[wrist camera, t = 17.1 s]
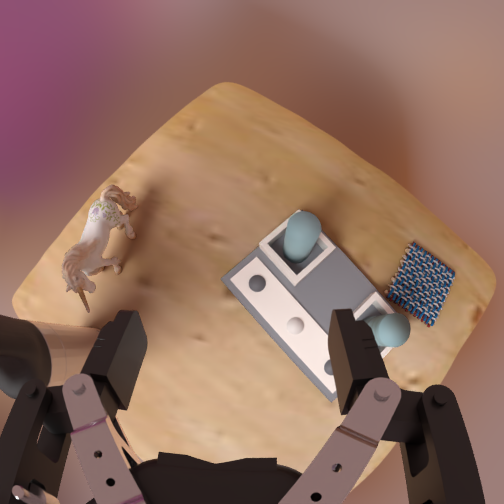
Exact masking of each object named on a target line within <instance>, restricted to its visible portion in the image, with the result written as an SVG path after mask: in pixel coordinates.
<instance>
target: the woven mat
mask: <svg viewBox="0 0 504 504" xmlns="http://www.w3.org/2000/svg"><path fill="white" fill-rule="evenodd" d="M415 245H416V243H415V242H413V243H412V245H411V244H409V243H408V246H409V247H410V249H409V248H406V249H405V252H407V256H406V255H404V254H403V255H402V257H403V258H404V259H405V260H403V259H402V260H400V263H401V264H402V266H401V267H398V270H399V272H398V273H396V274H395V276H396V277H395V278H394V277H392V278H391V281H392V282H393V284H392V285H390V284H389V283H388V286H389V287H390V290H389V291H388V290H384V293H385V295H387V296H386V298H389V297H390V300H389V301H392V300H394V303H395V304H396V303H399V304H398V306H403V307H402V308H403V309H405V308H406V310H405V311H406V312H408V310H409V311H410V314H414V315H413V316H414V317H415V316H418V317H417V319H421V322H423V321H425V323H424V324H428V325H427V327H430V325H431V326H433V325H434V321H435V322H436V321H437V320H436V318H439V317H437V316H438V315H439V313H440V309H441V310H442V309H443V308H441V307H442V305H443V306H444V304H443V302H446V301H444V300H445V296H446V297H447V294H449V293H448V290H449V291H450V289H449V287H450V285H451V286H453V285H452V282H454V281H453V279H455V278H454V277H455V272H454V271H452V270H451V269H450V268H449V269H448V267H447V266H446V265H445V264H444V263H442V264H441V262H440V260H438V259H437V258H435V259H434V256H433V255H431V254H430V253H429V252H428V254H427V251H424V249H423V248H422V247H420V246H418V245H416V247H415ZM419 247H420V249H419ZM413 250H414V252H413ZM417 253H418V254H417ZM410 256H411V258H410ZM430 256H431V257H430ZM424 258H425V259H424ZM428 261H429V262H428ZM437 261H438V262H437ZM408 262H409V263H408ZM418 262H419V263H418ZM411 265H412V266H411ZM421 265H422V266H421ZM425 266H426V269H425ZM415 267H416V269H415ZM419 269H420V271H419ZM402 272H403V274H402ZM432 273H433V274H432ZM412 274H413V275H412ZM416 275H417V278H416ZM406 276H407V278H406ZM449 276H450V277H449ZM410 279H411V280H410ZM399 280H400V281H399ZM443 280H444V281H443ZM424 281H425V282H424ZM402 283H404V284H402ZM437 283H438V284H437ZM446 283H447V284H446ZM406 285H407V287H406ZM395 286H397V287H395ZM431 286H432V287H431ZM400 288H401V290H400ZM410 289H411V290H410ZM414 290H415V292H414ZM438 291H439V292H438ZM393 292H394V293H393ZM428 292H429V293H428ZM392 293H393V295H392ZM408 294H409V295H408ZM396 295H397V297H396ZM422 296H423V297H422ZM411 297H412V298H411ZM400 298H401V300H400ZM425 299H426V300H425ZM404 300H406V301H405V303H404ZM429 301H430V302H429ZM412 305H413V307H412ZM436 306H437V308H436ZM416 308H417V309H416ZM419 312H420V313H419ZM427 315H428V316H427Z"/></svg>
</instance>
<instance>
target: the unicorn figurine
mask: <svg viewBox="0 0 504 504" xmlns="http://www.w3.org/2000/svg"><path fill="white" fill-rule="evenodd" d="M129 195H130V192H123V191H122V190H121V189H120V188H119V187H118V186H115V185H109V186H108V187H106V188H105V189H104V190H103V191H102V192H101V197H100V199H97V200H96V201H95V202H94V203H93V204H92V206H91V207H90V210H89V213H88V220H87V223H86V226H85V228H84V231H83V234H82V237H81V239H80V241H79V242H78V244H75V245H74V246H73V247H72V248H71V249H70V250H69V251H68V252H66V253H65V258H64V260H63V264H62V274H63V276H62V277H63V279H65V281H66V283H67V284H68V285H67V290H66V292H68V291H69V290H71V289H72V290H73V291H74V292H75V293H79V296H80V297H81V299H82V301H83V303H84V305H85V307H86V310H87V311H88V313H89V312H90V309H89V306H88V303H87V300H86V297H85V295H84V292H83V290H85V291H89V293H93V292H94V291H95V289H96V285H95V283H94V282H92V281H90V280H89V279H88V278H87V276H92V275H96V274H98V273H99V272H101V271H102V270H103V269H104V267H103V266H109V265H113V266H114V270H115V273H116V274H119V273H120V272H121V267H120V266H119V265H118V264H119V263H120V262H121V260H119V259H118V258H117V257H113V258H112V259H103V258H102V254H103V252H104V250H105V248H106V246H107V244H108V240H109V235H110V230H111V229H112V228H114V227H116V226H117V229H118V230H120V229H122V228H123V226H125V232H126V235H127V237H129V238H130V239H135V238H136V234H135V232H133V227H132V226H130V225H129V215H128V214H126V215H123V213H122V212H121V211H119V209H118V206H117V205H116V203H118V204H119V205H121V206H122V208H123V209H124V210H126V209H128V210H129V211H132V210H133V209H136V208H137V207H138V205H135V202H136V197H135V196H132V197H130V196H129ZM109 197H110V198H111V199H112V200H111V199H110V198H109ZM115 202H116V203H115ZM80 270H81V271H80ZM82 271H83V272H84V273H85V274H86V275H87V276H86V275H85V274H84V273H83V272H82Z"/></svg>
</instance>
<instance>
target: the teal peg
mask: <svg viewBox="0 0 504 504" xmlns="http://www.w3.org/2000/svg"><path fill="white" fill-rule="evenodd" d="M362 320H364V321H365V322H366V323H367V324H368V325H369V326H370V327H371V328H372V331H373V334H374V336H375V340H376V342H377V345H378V346H385V347H399V346H401V345H403V344H404V343H405V342H406V341H407V339H408V338H409V335H410V323H409V321H408V319H407V318H406V317H405V316H404V315H403V314H400V313H391V314H385V315H380V316H374V317H368V318H364V319H362Z"/></svg>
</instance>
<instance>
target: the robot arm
mask: <svg viewBox="0 0 504 504" xmlns="http://www.w3.org/2000/svg"><path fill="white" fill-rule="evenodd" d="M146 350H147V337H146V334H145V331H144V328H143V325H142V322H141V319H140V316H139V313H138V312H137V311H129V310H120V311H119V312H118V314H117V316H116V318H115V320H114V322H111V321H109V322H108V323H107V324H106V325H105V326H104V327H103V328H102V329H101V330H99V329H96V328H89V327H80V326H70V325H61V324H52V323H44V322H35V321H28V320H21V319H15V318H11V317H6V316H3V315H0V389H1V390H2V391H3V392H4V393H5V394H6V395H8V396H9V397H11V398H14V399H16V400H15V402H14V405H13V407H12V409H11V412H10V414H9V416H8V419H7V422H6V424H5V426H4V429H3V431H2V434H1V437H0V504H60V503H59V501H58V500H57V496H58V491H59V486H60V483H61V478H62V474H63V470H64V466H65V462H66V459H67V455H68V451H69V448H70V444H71V441H72V442H73V445H74V448H75V451H76V454H77V457H78V459H79V462H80V465H81V467H82V470H83V472H84V475H85V477H86V480H87V482H88V485H89V487H90V489H91V491H92V494H93V496H94V498H93V499H92V500H91V501H89V502H87V503H86V504H342V503H343V502H344V500H345V498H346V497H347V496H348V494H349V493H350V491H351V490H352V488H353V487H354V485H355V483H356V482H357V480H358V479H359V477H360V476H361V474H362V472H363V471H364V469H365V467H366V466H367V464H368V462H369V461H370V459H371V457H372V455H373V454H374V452H375V450H376V448H377V446H378V443H379V441H380V440H385V441H393V442H399V443H400V448H401V454H402V459H403V465H404V471H405V478H406V484H407V491H408V498H409V504H485V499H484V494H483V490H482V485H481V481H480V477H479V473H478V469H477V465H476V461H475V458H474V454H473V450H472V447H471V443H470V440H469V437H468V433H467V430H466V427H465V424H464V421H463V418H462V415H461V412H460V409H459V406H458V403H457V400H456V397H455V395H454V393H453V392H452V391H451V390H450V389H449V388H447V387H446V386H443V385H432V386H430V387H428V388H427V389H426V390H425V391H424V393H422V392H414V391H407V390H403V389H400V388H399V386H398V385H397V384H396V383H395V382H394V381H392V380H390V378H389V376H388V373H387V370H386V367H385V365H384V362H383V359H382V356H381V353H380V350H379V348H378V345H377V342H376V340H375V336H374V334H373V331H372V328H371V327H370V326H369V325H368V324H367V323H366V322H365V321H364V320H358V321H356V320H355V317H354V314H353V311H352V309H351V308H348V309H333V310H332V314H331V320H330V327H329V333H328V351H329V356H330V361H331V366H332V371H333V376H334V381H335V386H336V391H337V397H338V402H339V407H340V413H341V415H347V416H346V418H345V419H344V421H343V422H342V424H341V425H340V426H338V427H337V428H336V429H335V431H334V432H333V433H332V435H331V436H330V438H329V439H328V441H327V442H326V443H325V445H324V446H323V448H322V449H321V450H320V452H319V453H318V454H317V456H316V457H315V458H314V460H313V461H312V462H311V464H310V465H309V466H308V468H307V469H306V470H305V472H304V473H303V474H302V473H300V472H298V471H297V470H294V469H292V468H290V467H286V466H283V465H278V464H277V458H245V459H240V460H235V461H230V462H224V463H218V464H214V463H210V462H207V461H204V460H200V459H197V458H194V457H191V456H188V455H182V454H173V453H164V452H159V454H158V459H152V460H148V461H145V462H142V463H141V462H140V460H139V458H138V457H137V456H136V454H135V452H134V451H133V449H132V447H131V445H130V443H129V441H128V439H127V437H126V435H125V433H124V431H123V429H122V427H121V425H120V423H119V420H118V418H117V417H116V413H117V410H118V409H121V410H127V409H128V406H129V402H130V399H131V396H132V393H133V390H134V386H135V383H136V380H137V377H138V374H139V371H140V368H141V365H142V362H143V359H144V356H145V353H146ZM42 424H43V428H42V431H41V434H40V437H39V440H38V443H37V439H38V436H39V432H40V430H41V427H42Z"/></svg>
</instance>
